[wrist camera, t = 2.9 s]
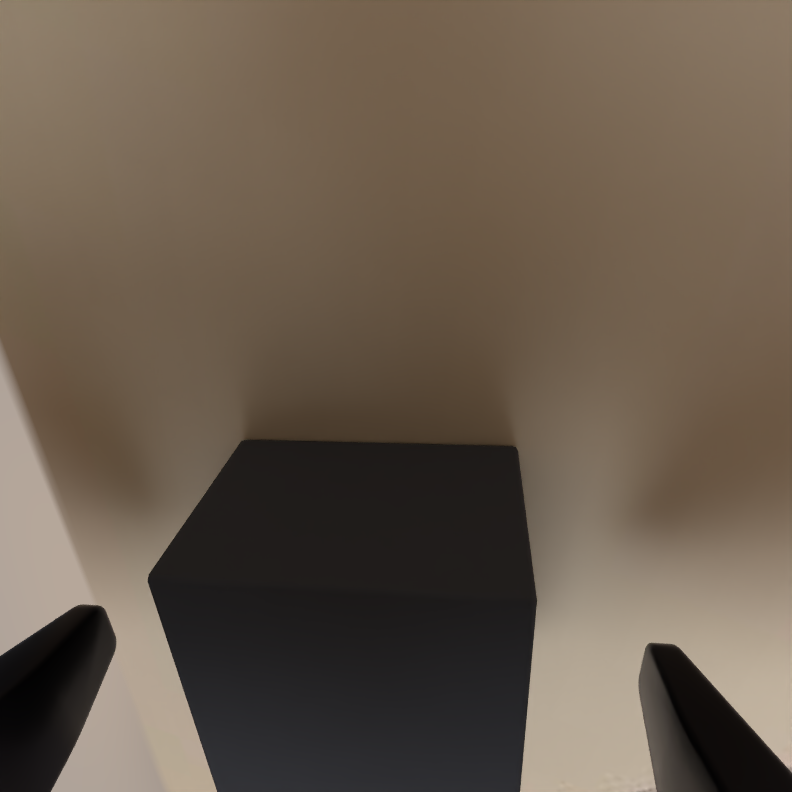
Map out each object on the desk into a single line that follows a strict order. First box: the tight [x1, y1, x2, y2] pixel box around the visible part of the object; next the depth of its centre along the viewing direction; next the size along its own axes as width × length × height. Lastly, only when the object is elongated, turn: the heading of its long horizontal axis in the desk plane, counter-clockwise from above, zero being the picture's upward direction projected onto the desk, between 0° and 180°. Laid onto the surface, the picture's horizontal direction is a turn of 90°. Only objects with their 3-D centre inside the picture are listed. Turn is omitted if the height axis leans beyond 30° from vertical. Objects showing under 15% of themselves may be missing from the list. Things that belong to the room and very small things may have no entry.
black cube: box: [148, 440, 537, 792], centre depth 10 cm, size 5×5×4 cm
